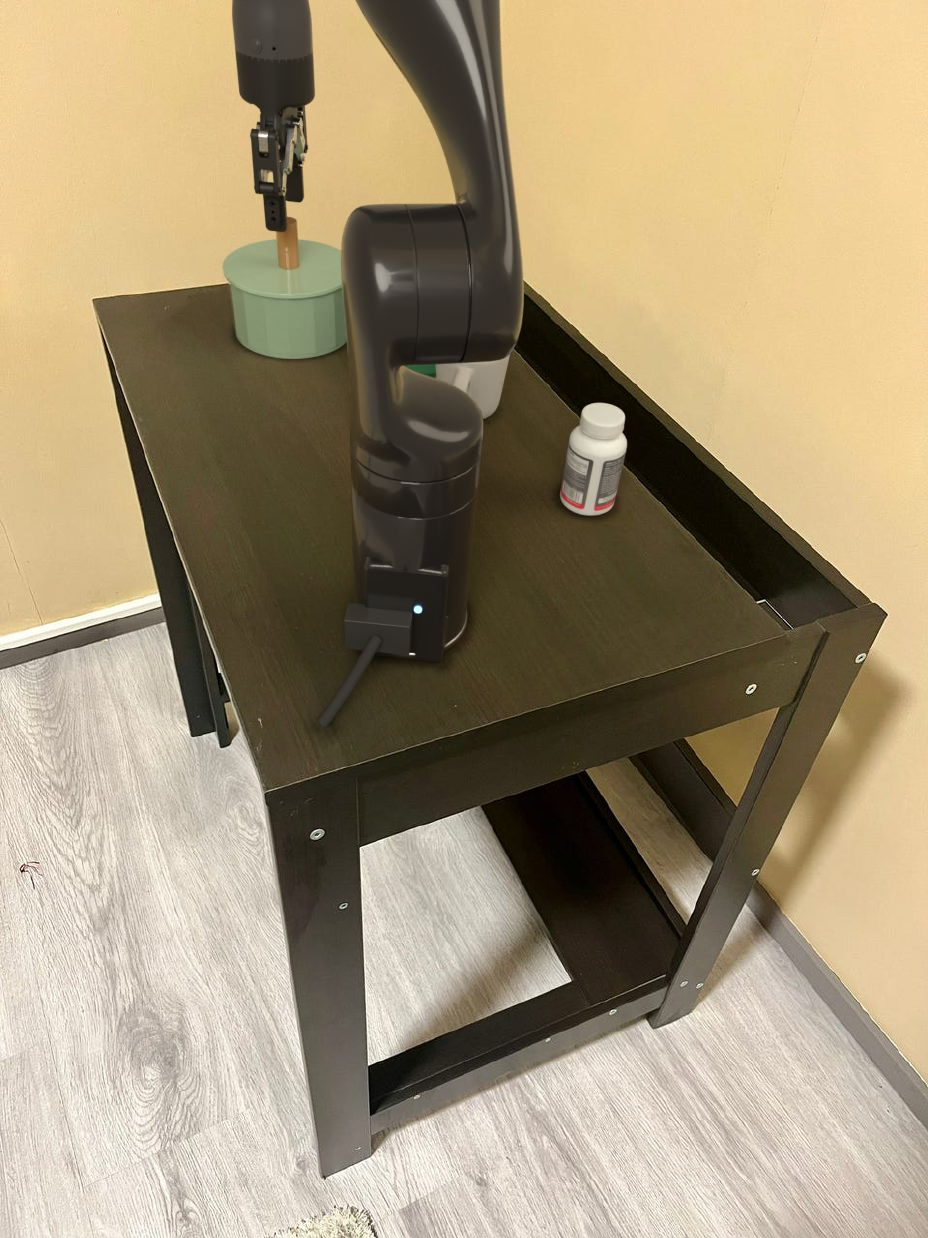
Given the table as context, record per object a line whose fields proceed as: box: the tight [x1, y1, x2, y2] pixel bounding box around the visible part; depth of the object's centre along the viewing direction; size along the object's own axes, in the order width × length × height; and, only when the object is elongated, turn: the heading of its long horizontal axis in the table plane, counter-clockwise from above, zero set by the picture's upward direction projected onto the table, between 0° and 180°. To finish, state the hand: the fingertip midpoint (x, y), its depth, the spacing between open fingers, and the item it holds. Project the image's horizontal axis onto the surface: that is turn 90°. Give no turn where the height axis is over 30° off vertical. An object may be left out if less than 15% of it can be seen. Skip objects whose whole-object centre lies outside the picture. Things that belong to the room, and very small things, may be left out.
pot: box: [227, 280, 347, 360], centre depth 106 cm, size 14×14×8 cm
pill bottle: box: [559, 402, 628, 517], centre depth 85 cm, size 5×5×10 cm
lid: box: [222, 216, 342, 299], centre depth 102 cm, size 15×15×6 cm
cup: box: [436, 353, 511, 420], centre depth 95 cm, size 11×8×8 cm
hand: (285, 214), depth 99 cm, fingers open, 8 cm apart
